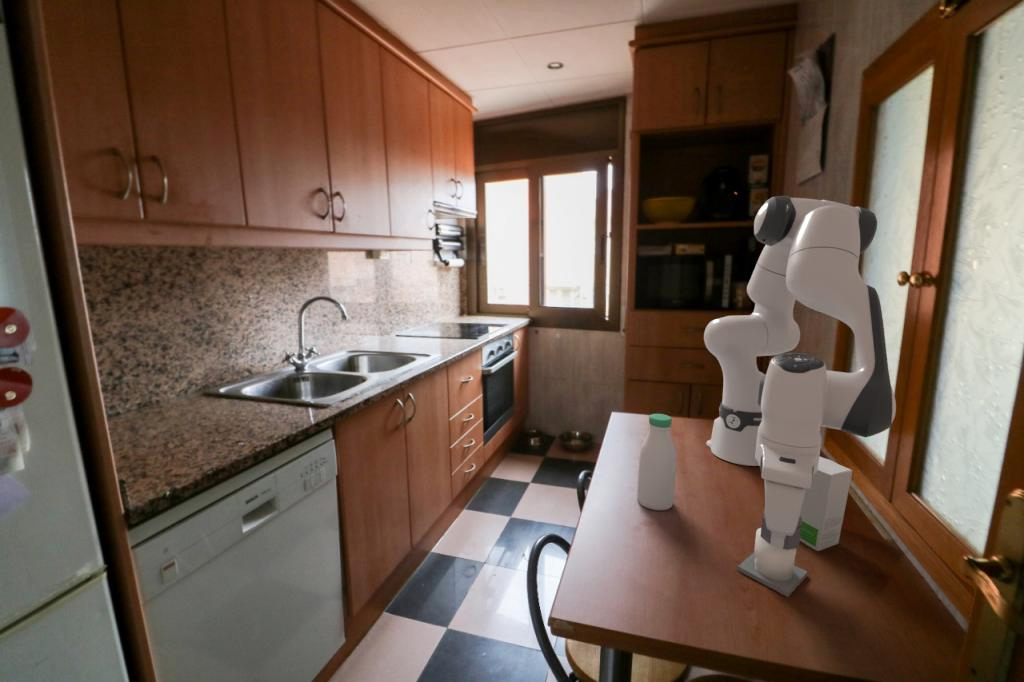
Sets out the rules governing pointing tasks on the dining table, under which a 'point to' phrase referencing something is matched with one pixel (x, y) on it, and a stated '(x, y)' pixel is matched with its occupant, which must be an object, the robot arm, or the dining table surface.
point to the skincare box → (825, 505)
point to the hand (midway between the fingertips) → (777, 530)
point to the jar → (773, 566)
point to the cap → (789, 541)
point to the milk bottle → (657, 465)
